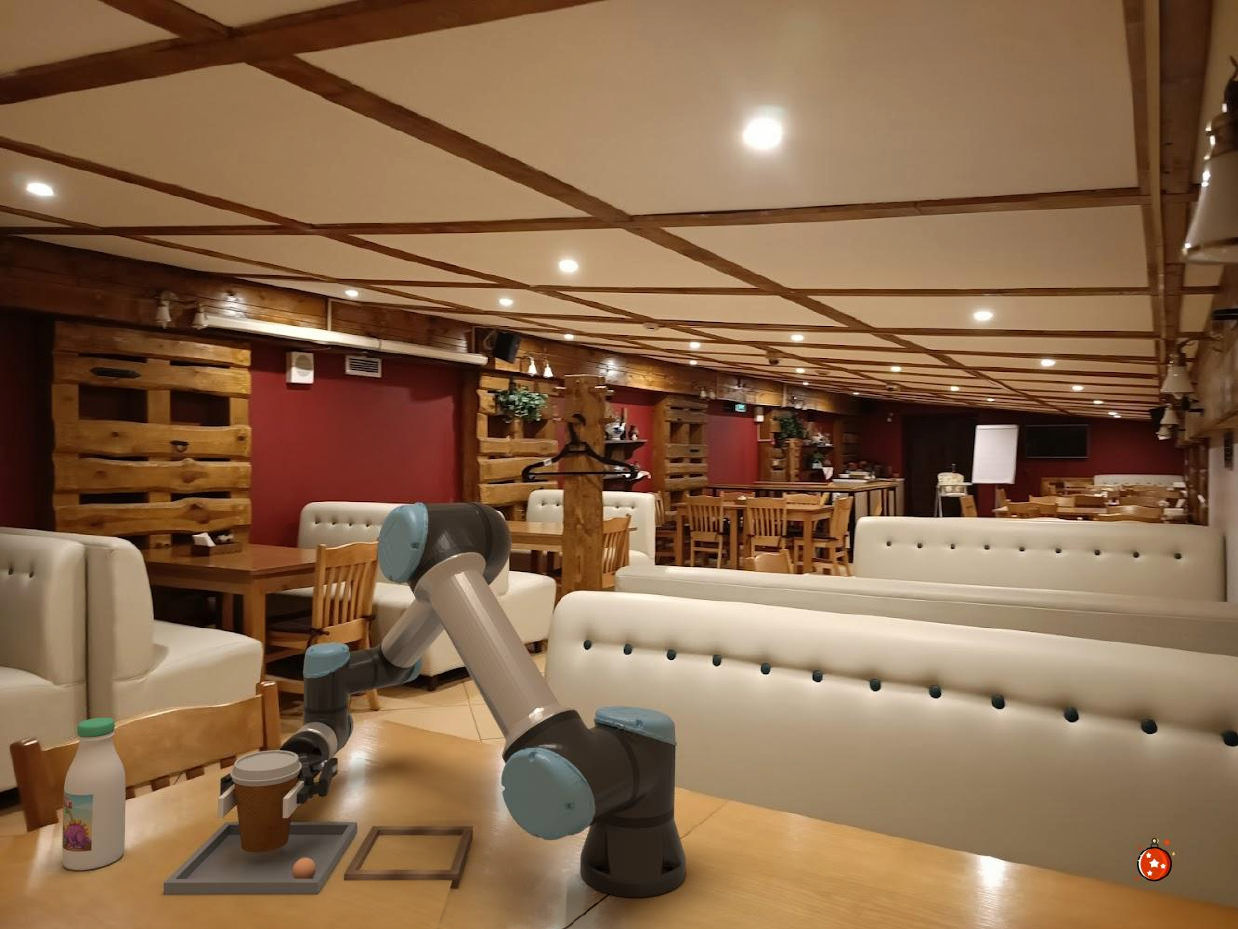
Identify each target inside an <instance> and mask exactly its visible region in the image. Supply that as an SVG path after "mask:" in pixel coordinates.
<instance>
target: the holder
mask: <svg viewBox="0 0 1238 929" xmlns="http://www.w3.org/2000/svg"><path fill="white" fill-rule="evenodd" d="M379 836H461V838H460V840H459V844H458V847H457V850H456V852H455V856H454V858H453V861H452V865H451V866H450V869H361V867H362V866H363V863H364V861H365V860H366V858H367V857H368V855H369V853H370V851H371V849H372V847H373V846H374V844H375V842H376V840H377V839H378V838H379ZM473 837H474V826H472V825H471V826H470V825H468V826H467V825H463V826H461V825H460V826H459V825H454V826H453V825H452V826H451V825H450V826H449V825H442V826H441V825H435V826H434V825H430V826H429V825H427V826H426V825H424V826H423V825H422V826H421V825H418V826H417V825H416V826H414V825H412V826H411V825H409V826H408V825H404V826H403V825H395V826H394V825H388V826H387V825H383V826H382V825H381V826H380V825H379V826H378V825H374V826H373V825H372V827H371V829H370V830H369V831H368V833H367V835H366V837H365V838H364V840H363V841H362V843H361V845H360V847H359V848H358V850H357V852H356V853H355V855H354V857H353V858H352V860H351V861H350V863H349V865H348V866H347V868H346V870H345V872H344V873H343V880H344V881H451V883H450V886H449V889H450V890H451V889H458V888H459V885H460V881H461V878H462V876H461V875H463V872H464V870H465V865H466V863H465V862H467V858H468V855H469V852H470V850H469V849H471V846H472V842H473V840H474V839H473Z"/></svg>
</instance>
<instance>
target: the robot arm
mask: <svg viewBox="0 0 1238 929" xmlns="http://www.w3.org/2000/svg"><path fill="white" fill-rule="evenodd" d="M382 522H383V523H382V524H381V526H380V530H379V532H378V533H379V534H378V538H377V539H378V541H377V560H378V564H379V567H380V570H381V573H382V574H383V576H384V578H386V579H387V580H388V581H390V582H391V583H396V584H399V585H401V584H405V583H406V584H407V585H408V586H409V588H410V591H411V592H412V594H413V596H414V600H413V601H412V602H410V603H411V604H409V606H408V607H407V608H406V610H405V611H404V612H403V613H402V615H401V616H400V617H399V618H398V620H397V621H396V622H395V624H393V626H392V627H391V628H390V630H389V631H388V632H387V634H386V635H385V636H384V638H383V639H382V640H381V641H380V643H378V645H377V646H375V647H371V648H370V647H369V648H365V649H359V650H353V651H350V647H349V646H348V645H347V644H345V643H341V642H321V643H317V644H313V645H310V646H309V647H308V648H307V649H306V651H305V654H304V660H303V670H302V674H303V709H302V726H301V727H300V728H299V729H298V730H297V731H295V732H294V733H293V734H292V735H291V736H290V737H289V738H288V739H287V740H285V742H283V744H282V745H281V746H280V748H279V749H278V750H282V751H289V752H293V753H295V754H297V755H298V758H299V762H300V763H301V765H302V767H301V770H300V772H299V774H298V777H297V784H296V785H295V786H294V787H293V788H292V789H291V790H290V791H289V793H288V794H287V795H286V796H285V797H284V798H283V818H289V816H290V815H291V814H292V815H293V813H294V812H295V810H296V809H298V807H299V806H300V805H304V804H305V803H307V802H308V801H309V799H312V798H314V795H318V797H320V798H325V797H326V796H328V793H329V790H330V786H331V784H332V780H333V778H335V777H336V776H337V775H338V771H339V770H338V768H339V767H338V765H339V759H338V757H335V756H336V755H337V753H338V752H340V751H341V750H342V749H343V748H344V747H345V746H346V745H347V743H348V742H349V739H350V737H351V736H352V733H353V731H354V720H353V719H354V718H353V717H352V715H351V713H350V712H349V697H350V695H354V694H358V693H364V692H368V691H374V690H377V689H382V688H388V687H392V686H393V687H394V686H400V685H403V684H405V683H407V682H408V683H409V682H412V681H414V680H416V679H417V678H418V676H419V675H420V673H421V668H422V666H423V659H422V658H423V655H424V654H425V653H426V652H427V650H428V649H429V648H430V647H431V646H432V644H433V643H435V641H436V640H437V639H438V638H439V636H440V635H441V634H442V633H443V631H444V630H445V632H446V634H447V636H448V638H449V639H450V641H451V643H452V646H454V648H455V650H456V652H457V654H458V656H459V657H460V659H461V661H462V664H464V666H465V668H466V671H467V672H468V673H469V677H470V678H471V680H472V681H473V683H474V684H475V687H476V688H477V690H478V692H479V694H480V696H481V697H482V699H483V701H484V703H485V704H486V706H487V709H488V710H489V712H490V713H491V716H492V718H493V719H494V721H495V722H496V724H497V726H498V728H499V730H500V732H501V734H502V735H503V737H504V739H505V743H504V746H503V751H502V753H501V759H502V760H503V762H504V764H505V765H504V767H503V769H502V773H501V779H500V780H501V782H500V783H501V786H503V788H504V789H503V790H502V791H501V792H502V797H503V801H504V803H505V804H504V805H506V806H505V807H506V808H507V811H508V813H509V814H510V815H511V817H512V819H513V820H514V822H515V823H517V825H518V826H519V827H520V828H521V829H523V831H524V832H526V833H528V834H529V835H530V836H533V837H534V838H538V839H542V840H544V841H557V840H560V839H563V838H565V837H568V836H574V835H578V834H580V833H582V832H584V831H585V830H586V829H588V828H589V829H588V832H587V835H586V837H585V841H584V844H583V846H582V849H581V853H580V859H579V860H580V861H579V862H580V864H579V865H580V866H579V867H580V868H579V872H580V876H581V878H582V880H583V881H584V882H585V883H586V884H587V885H588V886H590V887H591V888H593V889H595V890H597V891H600V892H601V893H605V894H608V895H612V896H617V897H623V898H624V897H625V898H648V897H653V896H659V895H663V894H666V893H668V892H670V891H673V890H675V889H676V888H678V887H679V886H681V884H682V883H684V880H685V878H686V867H687V866H686V865H687V864H686V862H687V859H686V854H685V851H684V848H683V844H682V840H681V838H680V833H679V831H678V828H677V827H678V826H677V823H676V820H675V797H676V796H675V793H676V792H675V790H676V789H675V788H676V750H677V749H676V748H677V745H678V743H677V740H676V726H675V725H676V724H675V722H674V720H673V719H672V718H671V717H670V716H669V715H667V714H666V713H664V712H660V711H658V710H654V709H649V708H645V707H637V706H627V705H608V706H602V707H600V708H598V709H597V710H596V711H595V714H594V718H593V722H594V726H592V727H591V728H588V727H587V725H586V724H585V722H584V720H583V718H582V717H581V716H580V715H581V714H579V712H578V710H576V708H575V707H570V706H565V705H561V704H560V702H559V701H558V699H557V697H556V696H555V694H554V692H553V690H552V689H551V687H550V686H549V684H548V683H547V681H546V679H545V677H544V675H543V674H542V672H541V671H540V669H539V668H538V665H537V664H536V662H535V660H534V659H533V658H532V655H531V654H530V652H529V650H528V649H527V647H526V645H525V643H523V641H522V639H521V638H520V635H519V634H518V632H517V631H516V629H515V627H514V626H513V624H512V622H511V621H510V619H509V617H508V616H507V614H506V612H505V611H504V609H503V607H502V605H501V603H499V601H498V599H497V597H496V596H495V594H494V592H493V591H492V588H491V587H490V585H491V584H492V583H493V582H494V581H495V580H496V579H497V577H498V576H499V575H500V573H501V572H502V571H503V570H504V568H505V567H506V564H507V563H508V561H509V559H510V555H511V551H512V544H513V543H512V542H513V541H512V534H511V531H510V527H509V525H508V523H507V521H506V519H505V518H504V516H502V514H501V513H500V512H498V511H497V509H495V508H493V507H492V506H490V505H487V504H485V503H482V502H478V501H477V502H476V501H465V502H440V503H439V502H436V503H435V502H434V503H433V502H432V503H431V502H430V503H423V502H415V503H412V504H403V505H399V506H397V507H395V508H393V509H392V510H391V511H390V512H389V513H388V514H387V516H386V517H385V518H384V520H383V521H382ZM319 774H320V775H319ZM317 776H319V777H318V781H314V780H315V778H317ZM219 785H220V788H219V792H220V794H219V797H217V818H218V819H223V818H224V817H226V816H227V815H228V814H229V813H230V812H231V811H232V810H233V809H234V808H235V807H237V804H236V795H235V786H234V781H233V780H232V777H231V775H230V772H229V773H228V774H226V775H224V776H222V777H221V778H220V784H219Z"/></svg>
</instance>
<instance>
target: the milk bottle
mask: <svg viewBox="0 0 1238 929" xmlns="http://www.w3.org/2000/svg"><path fill="white" fill-rule="evenodd" d="M115 726H116V725H115V719H114V718H111V717H95V718H90V719H89V718H88V719H86V720H82V721H81V722H79V723H78V725H77V730H76V731H77V732H76V733H77V738H76V739H77V740H78V747H77V750H76V754H75V755H74V758H73V760H72V762H71V764H70V766H69V767H68V769H67V772H66V776H65V779H64V787H63V799H62V802H63V805H62V806H63V807H62V839H61V841H62V843H61V845H62V848H61V851H62V852H61V853H62V854H61V860H62V861H61V862H62V865H63V867H65V868H66V869H68V870H72V871H85V870H86V871H88V870H92V869H93V870H94V869H98V868H102V867H105V866H107V865H110V864H112V863H114V862H117V860H119V859H120V858H121V857H122V856H123V854H124V852H125V849H126V848H125V847H126V846H125V844H126V841H125V840H126V772H125V768H124V764H123V761H122V760H121V758H120V756H119V754H118V752H117V750H116V747H115V745H114V741H113V737H114V735H115Z"/></svg>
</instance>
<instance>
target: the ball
mask: <svg viewBox="0 0 1238 929" xmlns="http://www.w3.org/2000/svg"><path fill="white" fill-rule="evenodd" d="M315 871H316V865H315V863H314V861H313V860H312V859H310V858H302V859H300V860H298V861H297V862H296V863H295V864H294V866H293V870H292V874H293V877H294V878H295V879H311V878H312V877H313V876H314V874H315Z"/></svg>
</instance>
